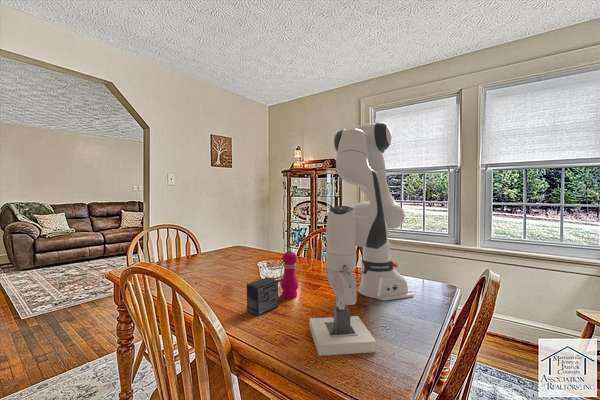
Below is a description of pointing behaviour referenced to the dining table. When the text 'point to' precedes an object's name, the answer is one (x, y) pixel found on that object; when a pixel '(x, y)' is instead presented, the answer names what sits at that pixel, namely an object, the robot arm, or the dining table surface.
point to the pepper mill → (289, 276)
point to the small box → (262, 296)
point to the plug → (341, 321)
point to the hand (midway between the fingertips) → (340, 307)
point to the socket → (341, 337)
